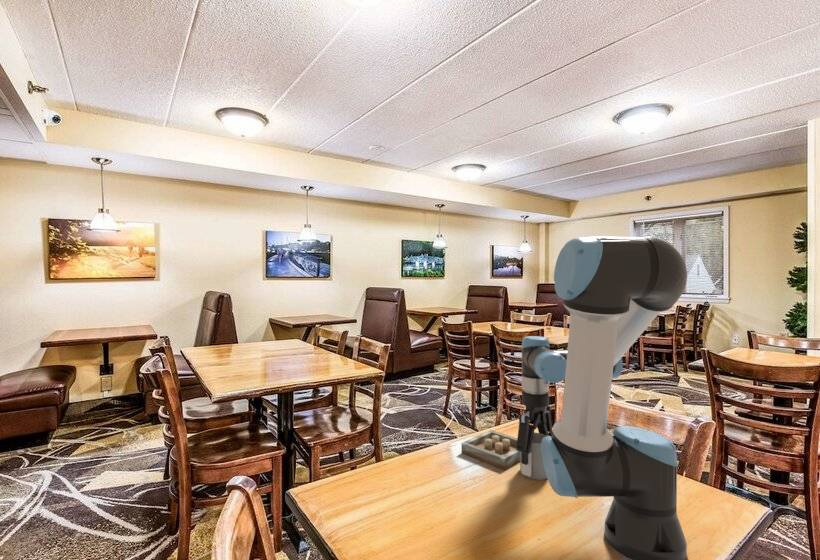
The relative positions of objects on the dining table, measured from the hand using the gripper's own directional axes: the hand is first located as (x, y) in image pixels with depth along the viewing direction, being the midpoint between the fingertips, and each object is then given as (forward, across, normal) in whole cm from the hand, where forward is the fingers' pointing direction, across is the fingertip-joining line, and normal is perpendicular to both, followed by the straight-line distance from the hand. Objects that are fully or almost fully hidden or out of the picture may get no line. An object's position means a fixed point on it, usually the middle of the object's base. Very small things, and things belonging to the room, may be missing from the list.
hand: (535, 468), depth 120 cm
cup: (+1, 0, 0) cm, 1 cm away
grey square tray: (+1, +3, +15) cm, 15 cm away
